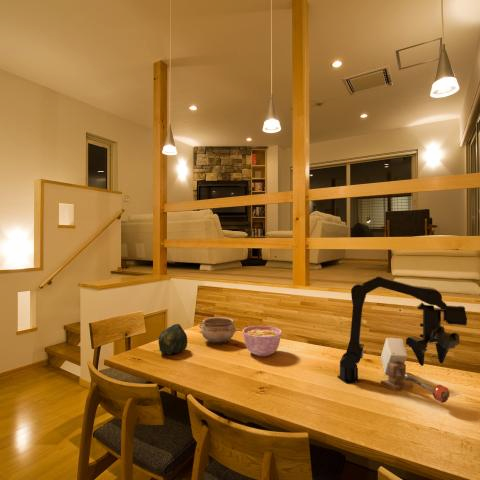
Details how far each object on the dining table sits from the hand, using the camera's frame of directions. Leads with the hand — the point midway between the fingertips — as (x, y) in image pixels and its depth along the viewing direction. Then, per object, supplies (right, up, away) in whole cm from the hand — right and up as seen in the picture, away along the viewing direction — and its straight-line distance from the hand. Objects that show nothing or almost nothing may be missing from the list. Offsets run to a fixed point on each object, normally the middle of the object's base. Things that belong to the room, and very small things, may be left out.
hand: (431, 364), depth 112 cm
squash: (-106, -12, +44) cm, 115 cm away
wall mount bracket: (-9, -12, +8) cm, 17 cm away
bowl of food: (-60, -12, +42) cm, 74 cm away
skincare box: (-5, -9, +21) cm, 23 cm away
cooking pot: (-84, -12, +59) cm, 103 cm away
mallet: (-5, -8, -4) cm, 10 cm away
